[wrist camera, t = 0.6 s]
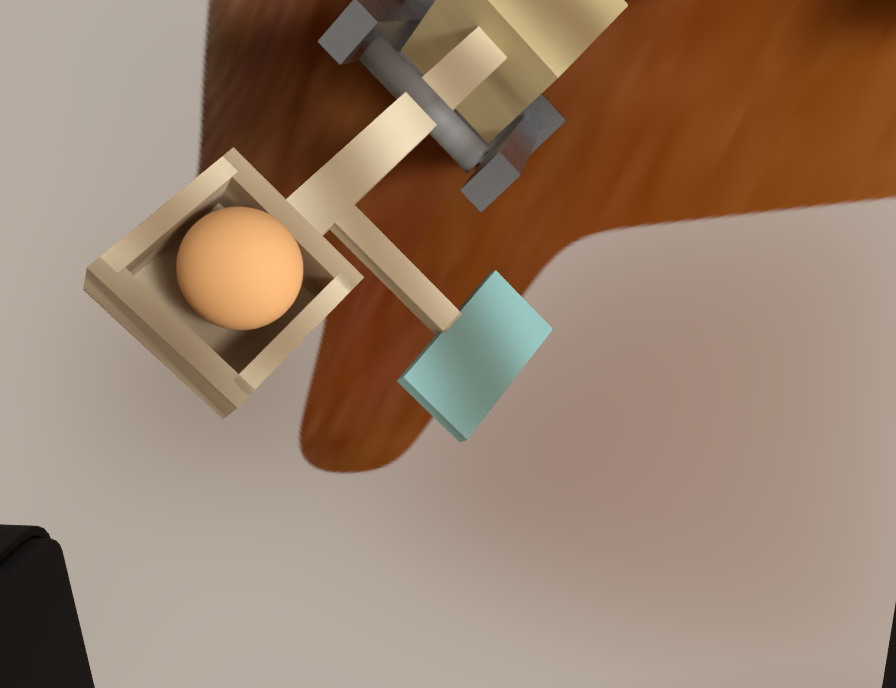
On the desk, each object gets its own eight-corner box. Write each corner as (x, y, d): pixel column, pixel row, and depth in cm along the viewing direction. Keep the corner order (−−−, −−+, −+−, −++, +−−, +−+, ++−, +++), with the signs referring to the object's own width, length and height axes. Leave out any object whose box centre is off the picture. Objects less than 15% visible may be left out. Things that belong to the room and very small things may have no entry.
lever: (472, -15, 38) (548, -117, 32) (642, 172, 40) (742, 107, 34) (73, 326, 27) (82, 263, 22) (330, 561, 29) (401, 560, 23)
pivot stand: (433, -27, 39) (368, -40, 28) (566, 119, 40) (554, 160, 30) (370, 43, 41) (287, 57, 30) (500, 181, 42) (466, 242, 31)
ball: (256, 169, 24) (203, 195, 21) (342, 255, 25) (303, 293, 22) (187, 247, 26) (128, 283, 23) (271, 327, 26) (224, 373, 23)
